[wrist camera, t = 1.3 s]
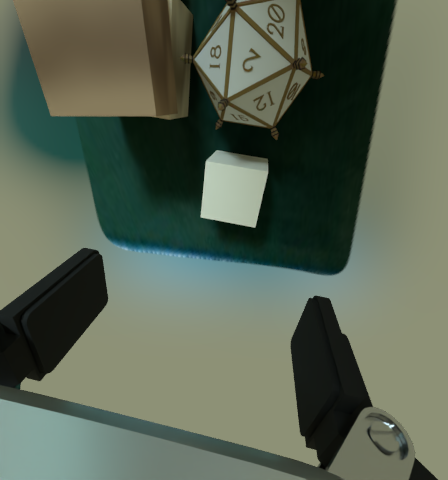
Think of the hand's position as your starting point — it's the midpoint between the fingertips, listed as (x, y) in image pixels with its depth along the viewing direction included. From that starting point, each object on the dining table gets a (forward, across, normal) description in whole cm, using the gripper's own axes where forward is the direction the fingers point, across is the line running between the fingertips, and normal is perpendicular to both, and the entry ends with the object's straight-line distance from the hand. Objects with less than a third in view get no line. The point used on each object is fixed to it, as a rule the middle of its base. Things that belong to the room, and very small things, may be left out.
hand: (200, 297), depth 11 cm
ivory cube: (+16, 0, -1) cm, 16 cm away
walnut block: (+11, +9, -10) cm, 17 cm away
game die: (+16, 0, -10) cm, 19 cm away
